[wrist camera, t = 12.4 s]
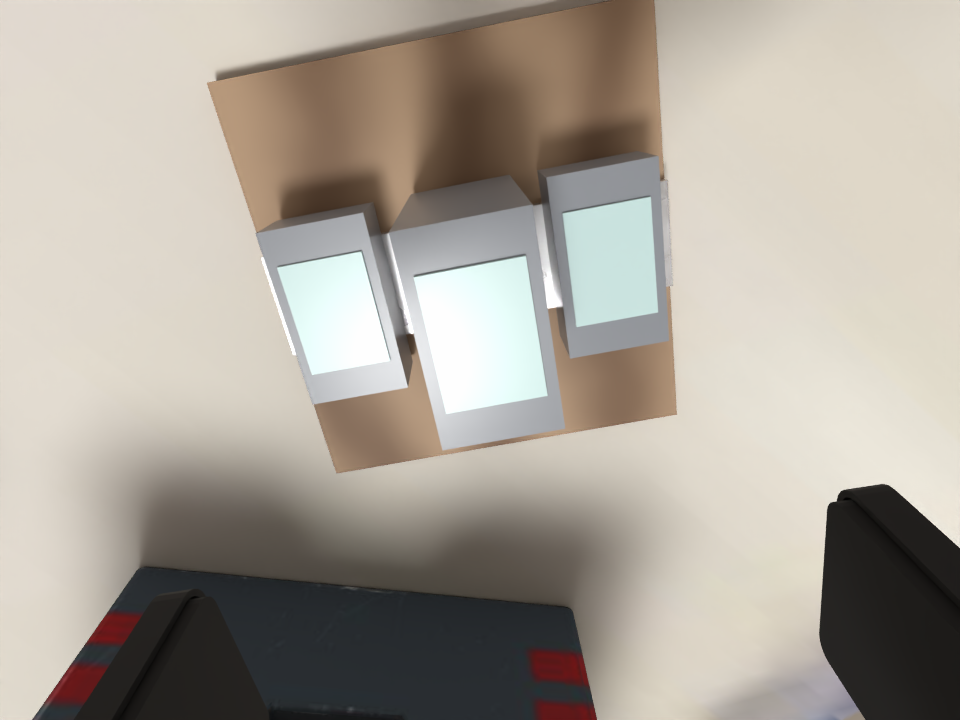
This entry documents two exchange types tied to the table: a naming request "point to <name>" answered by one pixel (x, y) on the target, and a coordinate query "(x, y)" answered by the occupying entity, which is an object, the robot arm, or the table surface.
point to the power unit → (365, 651)
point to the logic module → (479, 311)
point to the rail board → (452, 161)
